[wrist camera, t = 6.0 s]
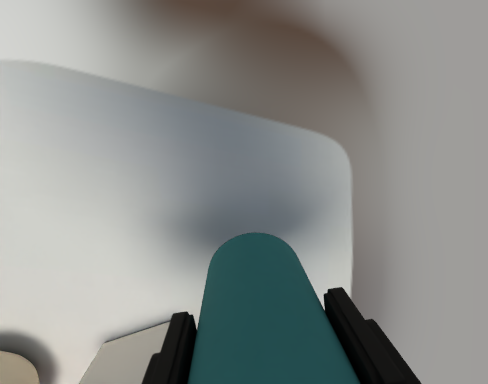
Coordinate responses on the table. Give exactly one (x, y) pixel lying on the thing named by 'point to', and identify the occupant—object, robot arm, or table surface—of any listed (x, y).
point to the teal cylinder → (264, 320)
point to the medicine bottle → (125, 357)
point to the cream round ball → (16, 370)
